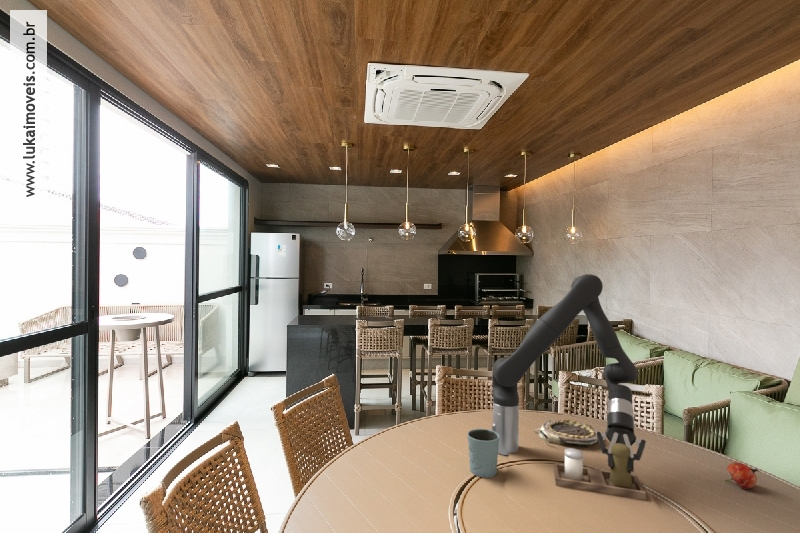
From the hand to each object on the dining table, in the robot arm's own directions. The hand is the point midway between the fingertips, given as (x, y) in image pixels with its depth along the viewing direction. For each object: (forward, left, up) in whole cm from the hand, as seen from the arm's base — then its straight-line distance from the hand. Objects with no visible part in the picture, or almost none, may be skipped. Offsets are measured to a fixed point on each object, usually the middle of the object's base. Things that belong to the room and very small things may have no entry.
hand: (620, 469), depth 120 cm
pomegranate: (+37, +18, -7) cm, 41 cm away
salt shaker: (-13, +2, -6) cm, 14 cm away
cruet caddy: (-6, +2, -7) cm, 9 cm away
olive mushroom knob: (0, +2, -5) cm, 5 cm away
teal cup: (-40, 0, -7) cm, 41 cm away
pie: (-10, +40, -8) cm, 41 cm away
